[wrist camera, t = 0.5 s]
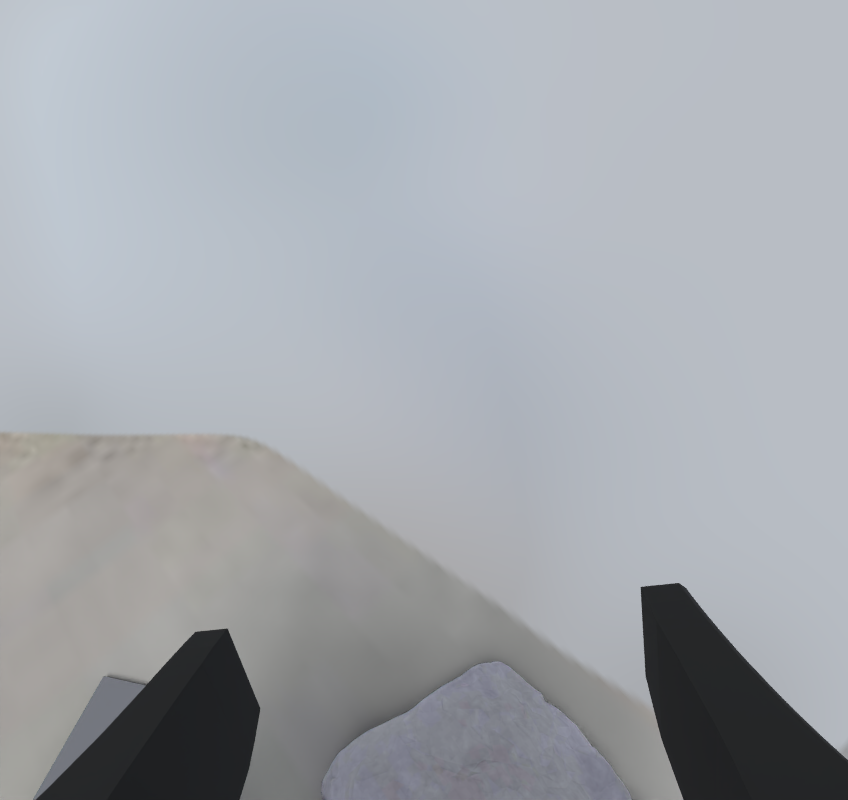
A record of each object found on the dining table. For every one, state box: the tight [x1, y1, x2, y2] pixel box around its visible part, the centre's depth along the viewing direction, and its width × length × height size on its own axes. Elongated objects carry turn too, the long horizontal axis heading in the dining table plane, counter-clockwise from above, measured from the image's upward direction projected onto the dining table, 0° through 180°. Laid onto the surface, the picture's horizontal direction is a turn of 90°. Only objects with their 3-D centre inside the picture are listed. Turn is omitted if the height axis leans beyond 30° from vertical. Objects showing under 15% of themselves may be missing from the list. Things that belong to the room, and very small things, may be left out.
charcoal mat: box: [33, 676, 146, 800], centre depth 27 cm, size 7×7×1 cm
